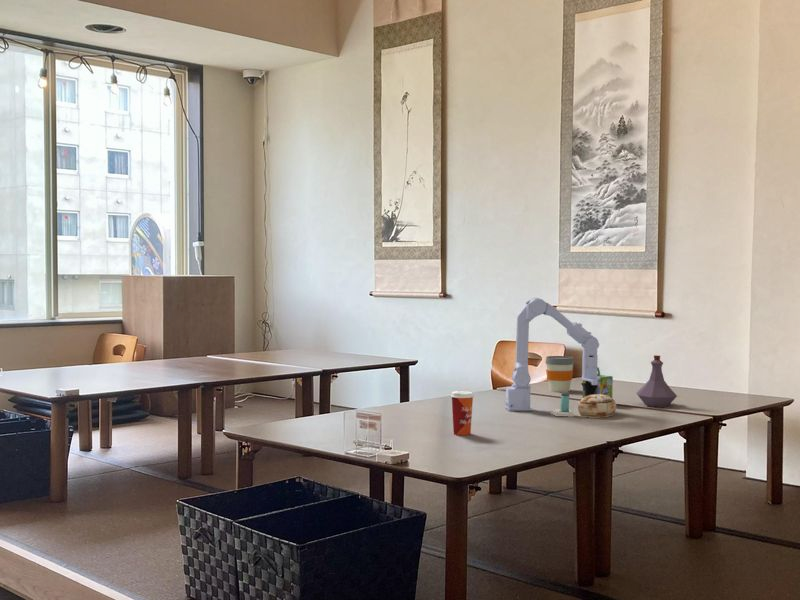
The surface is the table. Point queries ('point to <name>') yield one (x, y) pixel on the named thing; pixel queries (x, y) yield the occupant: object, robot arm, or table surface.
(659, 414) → the table surface
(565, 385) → the reusable coffee cup
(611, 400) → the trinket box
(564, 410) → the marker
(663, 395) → the flask
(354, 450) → the table surface
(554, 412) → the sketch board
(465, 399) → the paper cup
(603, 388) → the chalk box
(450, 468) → the table surface
